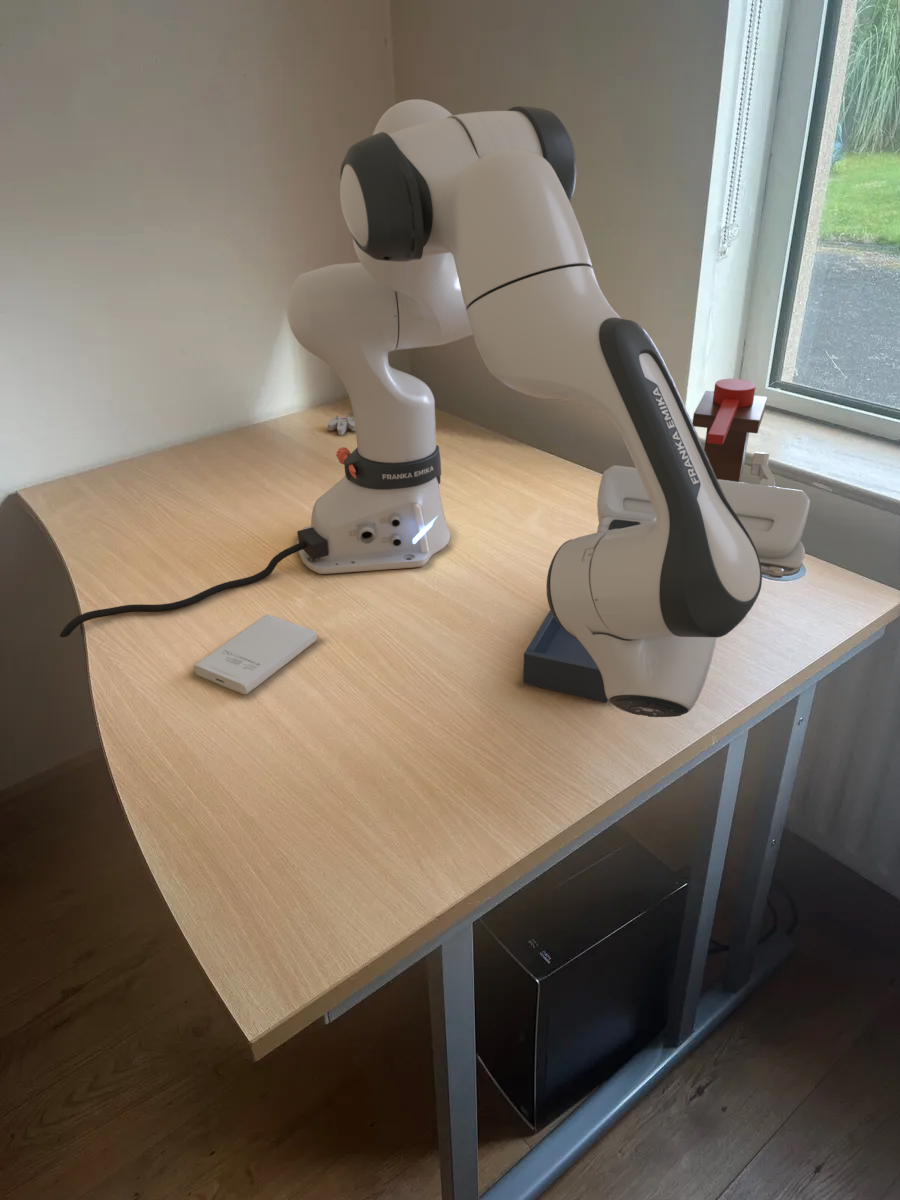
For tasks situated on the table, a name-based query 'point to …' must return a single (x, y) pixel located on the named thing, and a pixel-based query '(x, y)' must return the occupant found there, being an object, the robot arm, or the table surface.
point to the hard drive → (255, 654)
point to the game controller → (341, 424)
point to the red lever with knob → (729, 405)
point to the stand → (729, 435)
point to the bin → (561, 663)
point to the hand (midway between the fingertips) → (713, 450)
